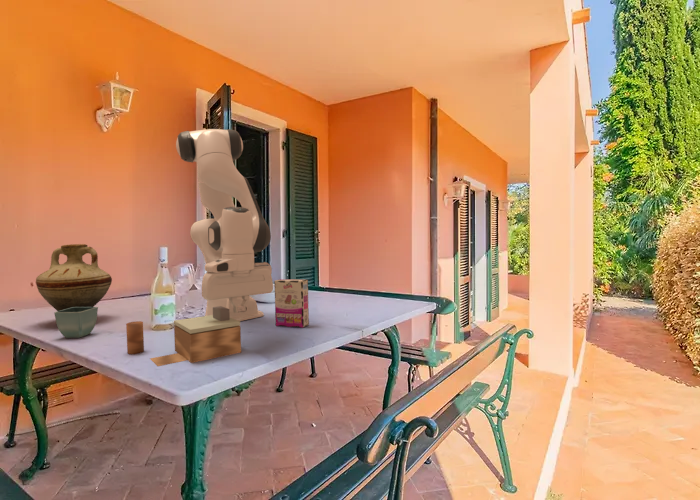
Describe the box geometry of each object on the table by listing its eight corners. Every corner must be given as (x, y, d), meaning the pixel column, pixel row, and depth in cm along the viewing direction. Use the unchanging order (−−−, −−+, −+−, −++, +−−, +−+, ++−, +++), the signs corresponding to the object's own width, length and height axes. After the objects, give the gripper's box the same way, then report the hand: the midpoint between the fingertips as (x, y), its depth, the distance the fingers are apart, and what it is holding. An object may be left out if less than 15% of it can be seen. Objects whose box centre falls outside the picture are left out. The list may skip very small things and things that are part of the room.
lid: (220, 317, 116) (220, 303, 116) (240, 325, 105) (240, 310, 105) (174, 324, 108) (173, 309, 108) (190, 333, 97) (189, 317, 97)
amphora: (31, 323, 150) (27, 245, 149) (101, 313, 168) (98, 243, 166) (47, 333, 134) (42, 245, 133) (122, 320, 152) (119, 243, 151)
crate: (221, 345, 117) (220, 318, 116) (241, 355, 106) (240, 326, 105) (147, 359, 104) (145, 329, 104) (161, 373, 93) (159, 340, 93)
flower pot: (81, 339, 125) (80, 311, 125) (54, 340, 125) (53, 312, 125) (99, 332, 134) (98, 306, 134) (74, 333, 134) (73, 306, 134)
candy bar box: (309, 325, 141) (308, 279, 140) (303, 328, 136) (302, 280, 135) (281, 323, 144) (280, 278, 143) (274, 326, 139) (273, 280, 139)
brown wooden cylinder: (142, 352, 110) (141, 320, 110) (145, 355, 107) (144, 323, 107) (126, 355, 108) (124, 322, 107) (129, 358, 105) (127, 325, 104)
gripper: (266, 261, 121) (267, 305, 122) (198, 265, 108) (200, 315, 109) (276, 262, 116) (277, 308, 117) (206, 266, 103) (208, 319, 104)
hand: (239, 312), depth 112 cm, fingers closed
